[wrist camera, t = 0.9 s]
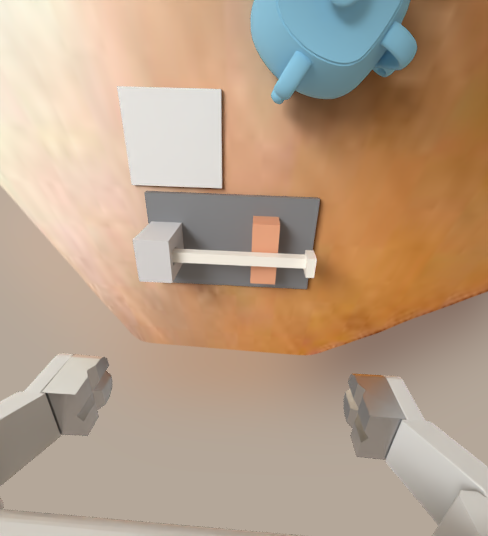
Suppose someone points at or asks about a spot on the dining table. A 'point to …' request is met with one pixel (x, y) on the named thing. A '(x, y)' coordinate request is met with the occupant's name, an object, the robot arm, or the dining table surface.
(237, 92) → the dining table surface
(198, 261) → the bar
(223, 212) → the board
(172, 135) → the white mat
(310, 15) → the decorative pot
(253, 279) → the salmon orange rectangular block
